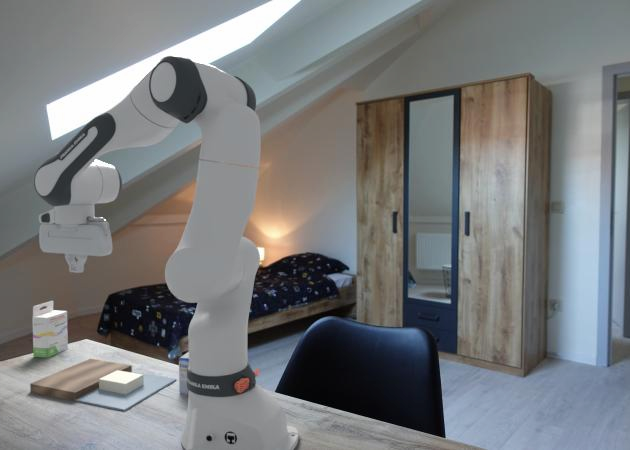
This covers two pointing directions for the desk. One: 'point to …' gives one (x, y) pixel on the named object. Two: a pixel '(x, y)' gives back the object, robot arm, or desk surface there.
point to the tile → (121, 382)
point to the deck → (77, 379)
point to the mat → (126, 400)
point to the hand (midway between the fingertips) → (76, 272)
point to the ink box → (49, 330)
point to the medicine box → (183, 373)
